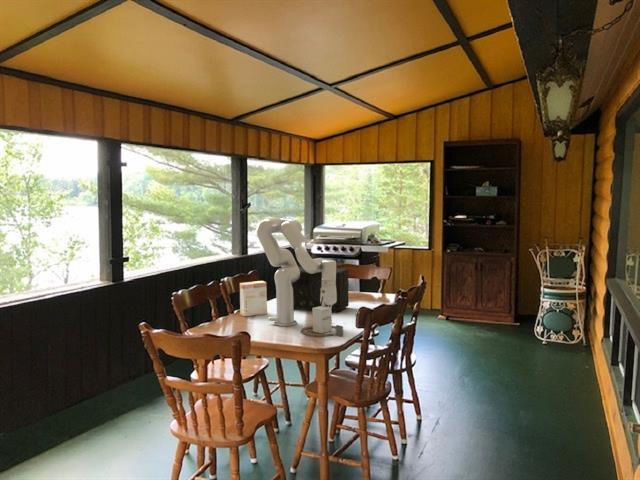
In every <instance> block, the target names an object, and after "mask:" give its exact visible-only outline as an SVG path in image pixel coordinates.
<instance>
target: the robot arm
mask: <svg viewBox="0 0 640 480" xmlns="http://www.w3.org/2000/svg"><path fill="white" fill-rule="evenodd" d="M257 225H258V226H257V228H256V235H257V238H258V240H259V242H260V244H261V245H262V246H261V247H262V248H263V250H264V253H265V256H266V257H267V260H268V262H269V263H270V265H271V266H272V267H275V268H277V267H280V268H278V269H277V270H276V272H275V273H274V278H273V279H274V283H275V284H274V285H275V290H276V292H275V293H276V294H275V295H276V297H275V298H276V315H275V316H273V317H272V316H269V317H268V321H270V322H273V324H274V325H275V326H281V327H289V326H290V327H291V326H295V325H297V320H296V319H295V311H294V310H295V309H294V296H293V287H292V284H291V283H293V282H295V281H297V280H298V279H299V277H300V270H299V268H298V267H299V266H298V264H297V262H296V260H297V261H298V263H299V265H300V267H303V269H304V270H305V271H306V272H308V273H310V274H313V273H317V272H322V284H321V286H322V287H321V294H320V304H322V307H324V306H326V307H331V308H332V305H333V304H334V303H336V301H337V292H336V268H337V262H336V260H334V259H324V258H321V257H317V258H312V256H311V255H310V254H309V252H308V250H307V245H308V240H307V238H306V237H305V235H303V233H302V231H303V227H302V224H301V222H300V221H298V220H297V219H295V220H294V219H290V218H289V219H288V218H282V217H270V218H265V219H263V220H261V221H260V222H259V223H258V224H257ZM278 233H281V234H282V235H283V236H284V237H285V239H286V241H288V244H290V245H291V248H293V249H294V252H295V253H294V254H295V257H296V260H295V257H294V255H293V253H292V252H291V250H289V249H287V248H281V246H280V245H279V243H278V241H277V240H276V238H275V237H274V236H273V234H278Z"/></svg>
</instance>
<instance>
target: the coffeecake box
mask: <svg viewBox="0 0 640 480" xmlns="http://www.w3.org/2000/svg"><path fill="white" fill-rule="evenodd" d="M267 290H268V289H267V281H264V280H257V281H248V282H247V281H246V282H239V305H240V307H239V308H240V309H239V310H240V315H241V316H243V317H250V316H251V317H252V316H259V315H267V314H268V298H267V296H268V294H267Z"/></svg>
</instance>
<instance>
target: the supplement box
mask: <svg viewBox="0 0 640 480" xmlns="http://www.w3.org/2000/svg"><path fill="white" fill-rule="evenodd" d="M311 311H312V326H313V328H312V331H313V332H314V333H317V334H326V333H329V332H332V331H333V328H332V326H333V324H332V323H333V321H332V315H333V314H332V313H333V311H331V307H326V306H324V307H322V306H320V307H315V308H312V309H311Z"/></svg>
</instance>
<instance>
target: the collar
mask: <svg viewBox="0 0 640 480" xmlns="http://www.w3.org/2000/svg"><path fill="white" fill-rule="evenodd" d="M308 329H313V325H309V326H304V327H302V328H301V329H300V333H301V334H303V335H305V336H309V337H315V338H316V337H317V338H318V337H324V338H325V337H332V336H339V337H343V336H344V326H343V325H339V324H337V325H332V329H335V332H332V333H316V334H315V333H310V332H307V331H306V330H308Z"/></svg>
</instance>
